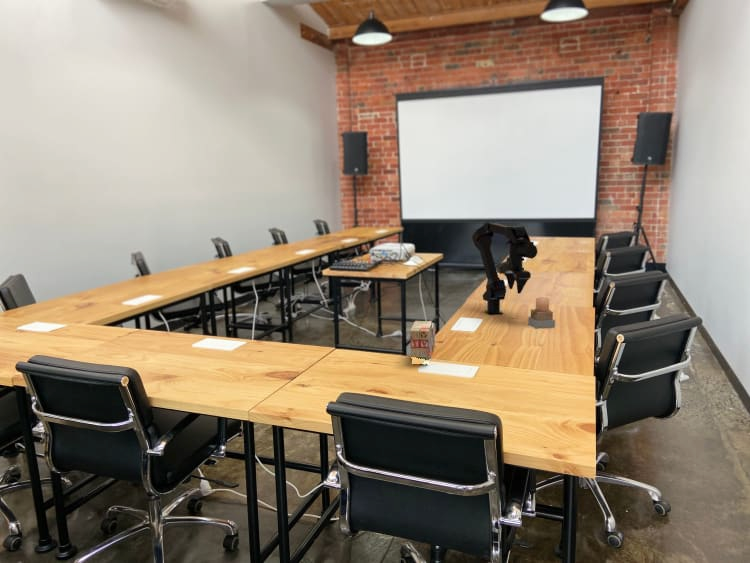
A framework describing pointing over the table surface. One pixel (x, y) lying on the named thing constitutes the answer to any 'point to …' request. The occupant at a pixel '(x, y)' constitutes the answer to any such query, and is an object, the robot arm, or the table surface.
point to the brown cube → (542, 304)
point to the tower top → (541, 315)
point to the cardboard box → (422, 339)
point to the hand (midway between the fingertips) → (514, 291)
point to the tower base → (541, 323)
